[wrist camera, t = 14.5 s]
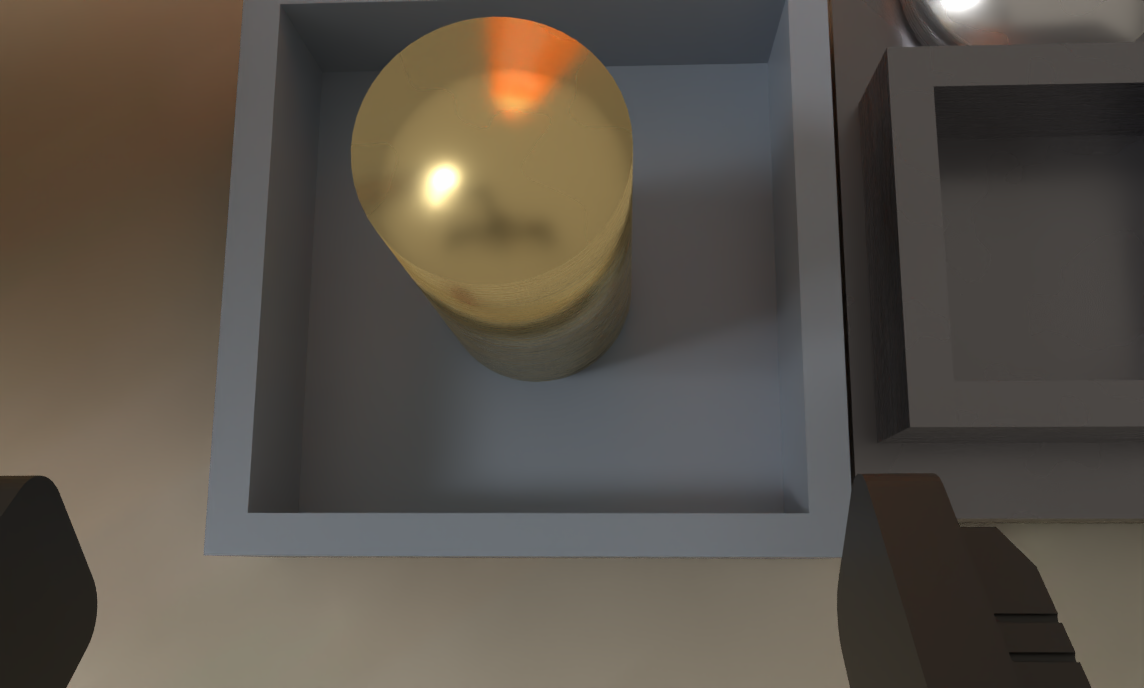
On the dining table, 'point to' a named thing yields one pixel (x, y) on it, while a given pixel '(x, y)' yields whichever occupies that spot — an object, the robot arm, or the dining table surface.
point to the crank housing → (994, 250)
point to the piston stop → (505, 190)
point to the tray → (558, 407)
